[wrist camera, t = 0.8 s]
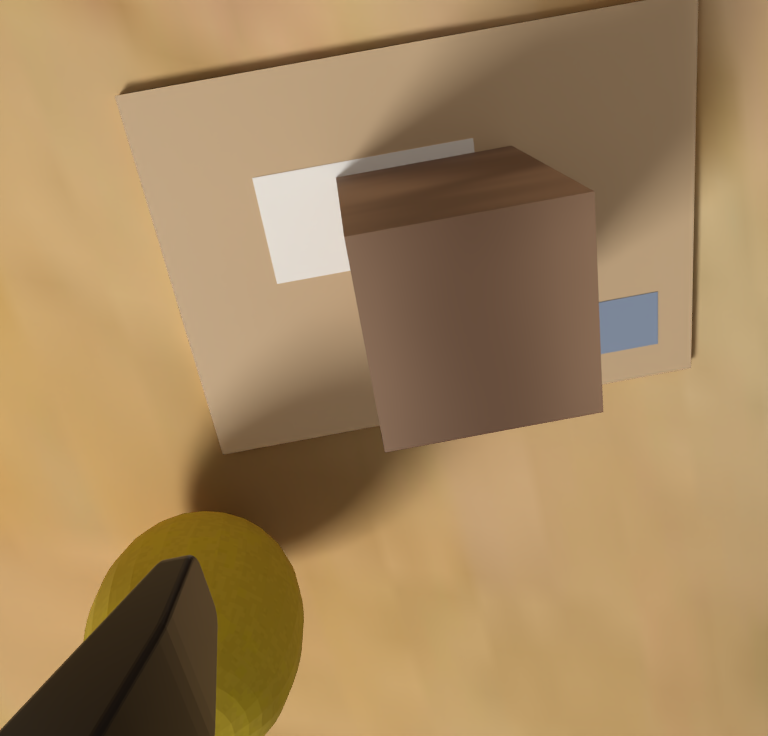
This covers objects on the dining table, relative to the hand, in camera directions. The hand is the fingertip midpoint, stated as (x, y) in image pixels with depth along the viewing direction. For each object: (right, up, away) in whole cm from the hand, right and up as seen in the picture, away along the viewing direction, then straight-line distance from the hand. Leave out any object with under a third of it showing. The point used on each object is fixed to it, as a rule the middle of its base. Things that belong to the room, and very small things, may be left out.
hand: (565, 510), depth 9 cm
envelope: (-1, +5, +11) cm, 12 cm away
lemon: (-7, -3, +14) cm, 16 cm away
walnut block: (-1, +5, +10) cm, 12 cm away
